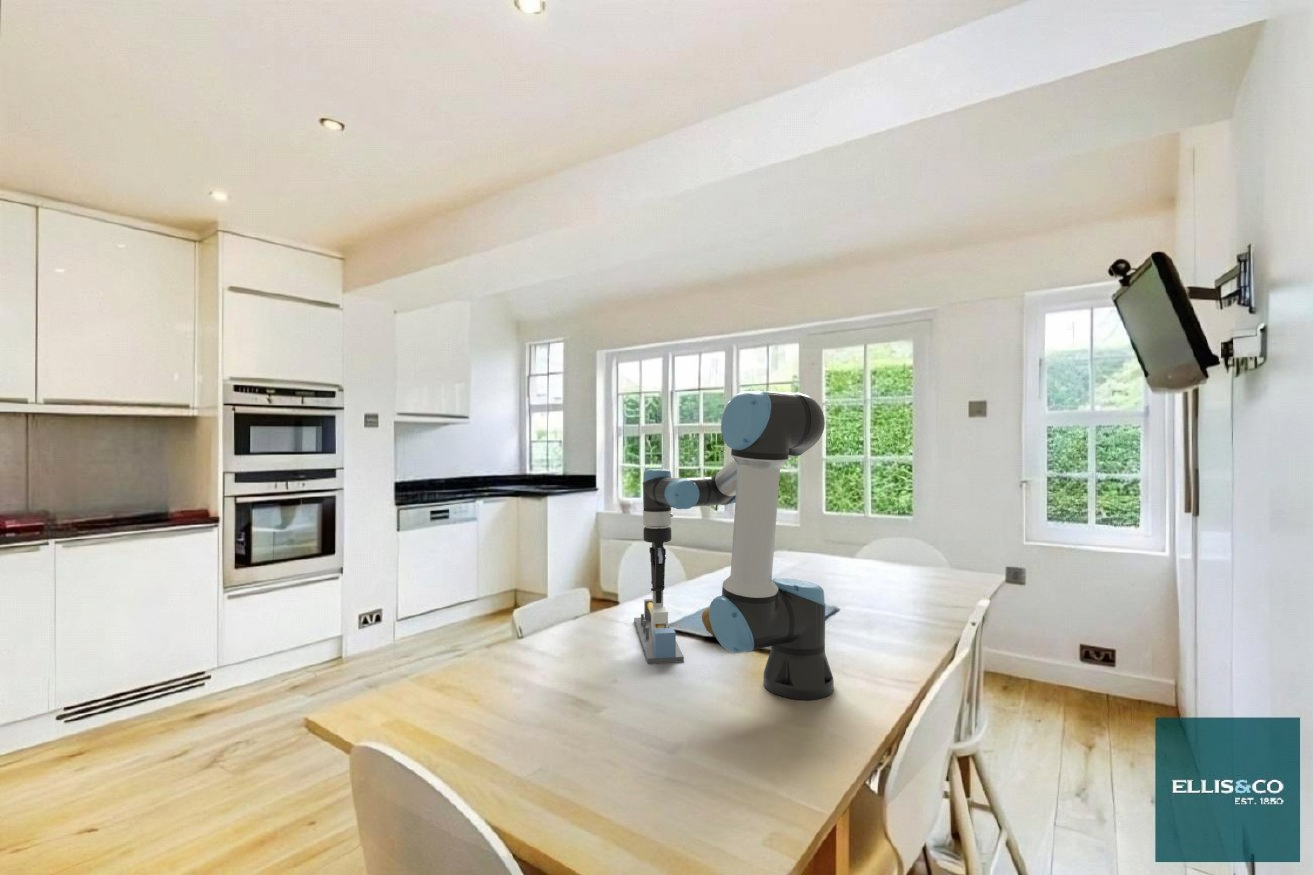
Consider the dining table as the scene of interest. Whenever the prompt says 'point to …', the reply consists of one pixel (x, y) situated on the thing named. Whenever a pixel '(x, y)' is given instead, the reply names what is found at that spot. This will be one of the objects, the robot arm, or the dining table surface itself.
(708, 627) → the potato
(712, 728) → the dining table surface
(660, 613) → the sleeve
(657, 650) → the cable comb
